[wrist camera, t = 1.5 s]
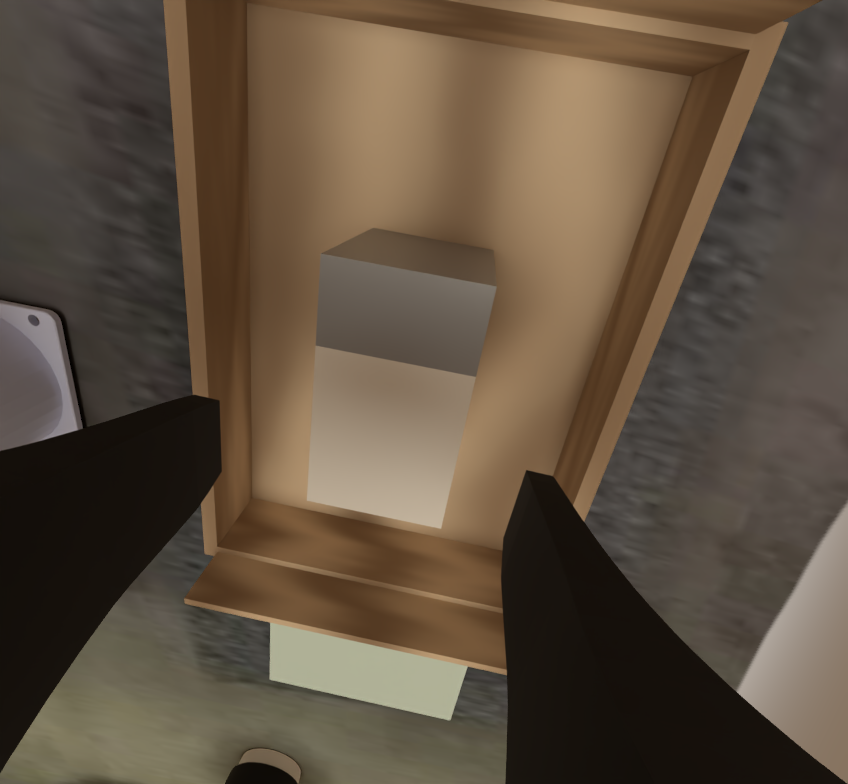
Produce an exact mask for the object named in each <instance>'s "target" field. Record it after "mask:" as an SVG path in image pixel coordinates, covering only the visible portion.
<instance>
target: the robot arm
mask: <svg viewBox="0 0 848 784" xmlns="http://www.w3.org/2000/svg"><path fill="white" fill-rule="evenodd" d="M36 317H37V318H38V320H39V321H38V320H37V318H36ZM221 472H222V458H221V428H220V400H216V399H211V398H207V397H203V396H198V395H191V396H187V397H183V398H179V399H176V400H172V401H169V402H165V403H162V404H159V405H156V406H153V407H150V408H147V409H143V410H140V411H137V412H134V413H131V414H128V415H125V416H122V417H119V418H115V419H112V420H109V421H106V422H103V423H100V424H97V425H93V426H90V427H86V428H83V426H82V421H81V416H80V411H79V406H78V401H77V396H76V391H75V387H74V382H73V377H72V372H71V367H70V362H69V357H68V352H67V347H66V342H65V337H64V332H63V327H62V322H61V320H60V317H59V316H58V315H57V314H56V313H55V312H53V311H51V310H48V309H43V308H38V307H33V306H28V305H23V304H18V303H13V302H8V301H3V300H0V772H1V771H2V769H3V768H4V766H5V764H6V763H7V761H8V759H9V758H10V756H11V755H12V753H13V752H14V750H15V749H16V747H17V745H18V744H19V742H20V741H21V739H22V738H23V736H24V735H25V733H26V732H27V730H28V728H29V727H30V725H31V724H32V722H33V721H34V719H35V718H36V716H37V714H38V713H39V711H40V710H41V708H42V707H43V705H44V704H45V702H46V701H47V699H48V698H49V696H50V695H51V693H52V692H53V690H54V689H55V687H56V686H57V684H58V683H59V682H60V680H61V679H62V677H63V676H64V674H65V673H66V671H67V670H68V668H69V667H70V665H71V664H72V663H73V661H74V660H75V658H76V657H77V655H78V654H79V652H80V651H81V649H82V648H83V647H84V645H85V644H86V643H87V641H88V640H89V638H90V637H91V636H92V634H93V633H94V632H95V630H96V629H97V627H98V626H99V625H100V623H101V622H102V621H103V619H104V618H105V616H106V615H107V614H108V612H109V611H110V610H111V608H112V607H113V605H114V604H115V603H116V602H117V601H118V599H119V598H120V597H121V596H122V594H123V593H124V592H125V591H126V589H127V588H128V587H129V586H130V585H131V584H132V582H133V581H134V580H135V579H136V578H137V577H138V576H139V574H140V573H141V572H142V571H143V570H144V569H145V568H146V567H147V565H148V564H149V563H150V562H151V561H152V560H153V559H154V557H155V556H156V555H157V554H158V553H159V552H160V551H161V550H162V548H163V547H164V546H165V545H166V544H167V543H168V542H169V541H170V539H171V538H172V537H173V536H174V535H175V534H176V533H177V531H178V530H179V529H180V528H181V527H182V526H183V524H184V523H185V522H186V521H187V520H188V519H189V518H190V516H191V515H192V514H193V513H194V512H195V511H196V509H197V508H198V507H199V506H200V504H201V503H202V501H203V500H204V498H205V497H206V495H207V494H208V492H209V491H210V489H211V488H212V486H213V485H214V483H215V482H216V480H217V478H218V477H219V475H220V474H221ZM501 590H502V607H503V622H504V637H505V653H506V668H507V686H508V723H507V760H506V784H847V783H845V782H844V781H843V780H841V779H840V778H839V777H838V776H836V775H835V774H834V773H832V772H831V771H830V770H829V769H827V768H826V767H825V766H823V765H822V764H821V763H819V762H818V761H817V760H816V759H814V758H813V757H812V756H811V755H810V754H808V753H807V752H806V751H805V750H803V749H802V748H801V747H800V746H799V745H797V744H796V743H795V742H794V741H793V740H791V739H790V738H789V737H788V736H787V735H785V734H784V733H783V732H782V731H781V730H779V729H778V728H777V727H776V726H775V725H774V724H772V723H771V722H770V721H769V720H768V719H766V718H765V717H764V716H763V715H762V714H761V713H759V712H758V711H757V710H756V709H755V708H754V707H753V706H752V705H750V704H749V703H748V702H747V701H746V700H745V699H744V698H743V697H741V696H740V695H739V694H738V693H737V692H736V691H735V690H734V689H732V688H731V687H730V686H729V685H728V684H727V683H726V682H725V681H724V680H723V679H722V678H721V677H720V676H719V675H717V674H716V673H715V672H714V671H713V670H712V669H711V668H710V667H709V666H708V665H707V664H706V663H705V662H704V661H703V660H702V659H701V658H700V657H699V656H697V655H696V654H695V653H694V652H693V651H692V650H691V649H690V648H689V647H688V646H687V645H686V644H685V643H684V642H683V641H682V640H681V639H680V638H679V637H678V636H677V635H676V634H675V633H674V631H673V630H672V629H671V628H670V627H669V626H668V625H667V624H666V623H665V622H664V621H663V620H662V618H661V617H660V616H659V615H658V614H657V613H656V612H655V611H654V610H653V609H652V608H651V607H650V606H649V604H648V603H647V602H646V601H645V600H644V599H643V598H642V596H641V595H640V594H639V593H638V592H637V591H636V590H635V588H634V587H633V586H632V585H631V583H630V582H629V581H628V580H627V579H626V577H625V576H624V575H623V574H622V572H621V571H620V570H619V569H618V567H617V566H616V565H615V564H614V562H613V561H612V560H611V558H610V557H609V556H608V554H607V553H606V552H605V551H604V549H603V548H602V547H601V545H600V544H599V542H598V541H597V540H596V538H595V537H594V535H593V534H592V533H591V531H590V530H589V528H588V527H587V526H586V524H585V523H584V521H583V520H582V518H581V517H580V515H579V514H578V512H577V511H576V509H575V508H574V506H573V505H572V503H571V502H570V500H569V499H568V497H567V496H566V494H565V493H564V491H563V490H562V488H561V487H560V485H559V484H558V482H557V481H556V479H555V478H554V477H553V476H551V475H546V474H542V473H537V472H533V471H528V470H526V472H525V475H524V478H523V481H522V484H521V487H520V490H519V493H518V496H517V499H516V502H515V505H514V508H513V511H512V514H511V516H510V519H509V522H508V525H507V528H506V531H505V534H504V537H503V551H502V567H501Z"/></svg>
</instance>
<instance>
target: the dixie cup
mask: <svg viewBox="0 0 848 784" xmlns="http://www.w3.org/2000/svg"><path fill="white" fill-rule="evenodd" d="M300 775H301V770H300V768H299V766H298V764H297V763H296V762H295V761H294V760H292V759H291V758H290V757H288V756H286V755H285V754H282V753H280V752H277V751H274V750H270V749H262V748H258V749H251V750H248V751H247V752H245V753H244V754H243V756H242V758H241V760H240V762H239V764H238V765H237V766H235V767H234V768H233V769H232V771H231V773H230V775H229V777H228V779H227V780H226V782H225V784H299V780H300Z"/></svg>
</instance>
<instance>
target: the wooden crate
mask: <svg viewBox="0 0 848 784" xmlns="http://www.w3.org/2000/svg"><path fill="white" fill-rule="evenodd" d="M163 1H164V14H165V28H166V41H167V55H168V68H169V81H170V95H171V108H172V121H173V135H174V148H175V162H176V175H177V188H178V202H179V215H180V228H181V242H182V255H183V269H184V282H185V295H186V309H187V322H188V336H189V349H190V362H191V376H192V389H193V395H198V396H203V397H207V398H211V399H216V400H220V428H221V458H222V472H221V474H220V475H219V477H218V478H217V480H216V482H215V483H214V485H213V486H212V488H211V489H210V491H209V492H208V494H207V495H206V497H205V498H204V500H203V501H202V503H201V510H202V523H203V536H204V550H205V554H208V555H212V556H214V557H213V559H212V560H211V562H210V563H209V564H208V566H207V567H206V569H205V570H204V571H203V573H202V574H201V576H200V577H199V578H198V580H197V581H196V583H195V584H194V585H193V587H192V588H191V590H190V591H189V593H188V594H187V595H186V597H185V598H184V600H185V604H189V605H194V606H198V607H203V608H207V609H212V610H216V611H221V612H225V613H230V614H234V615H239V616H243V617H248V618H252V619H257V620H261V621H266V622H270V623H275V624H279V625H284V626H288V627H293V628H297V629H302V630H306V631H311V632H315V633H320V634H324V635H329V636H333V637H338V638H342V639H347V640H351V641H356V642H360V643H365V644H369V645H374V646H378V647H383V648H387V649H392V650H396V651H401V652H405V653H410V654H414V655H419V656H423V657H428V658H432V659H437V660H441V661H446V662H450V663H455V664H459V665H464V666H468V667H473V668H477V669H482V670H486V671H491V672H495V673H500V674H504V675H507V668H506V653H505V637H504V622H503V607H502V590H501V567H502V551H503V537H504V534H505V531H506V528H507V525H508V522H509V519H510V516H511V514H512V511H513V508H514V505H515V502H516V499H517V496H518V493H519V490H520V487H521V484H522V481H523V478H524V475H525V472H526V470H528V471H533V472H537V473H542V474H546V475H551V476H553V477H554V478H555V479H556V481H557V482H558V484H559V485H560V487H561V488H562V490H563V491H564V493H565V494H566V496H567V497H568V499H569V500H570V502H571V503H572V505H573V506H574V508H575V509H576V511H577V512H578V514H579V515H580V517H581V518H582V520H583V521H584V520H585V518H586V516H587V513H588V511H589V508H590V506H591V503H592V501H593V499H594V496H595V494H596V491H597V489H598V486H599V484H600V481H601V479H602V477H603V474H604V472H605V469H606V467H607V464H608V462H609V459H610V457H611V455H612V452H613V450H614V447H615V445H616V442H617V440H618V437H619V435H620V433H621V430H622V428H623V425H624V423H625V420H626V418H627V416H628V413H629V411H630V408H631V406H632V403H633V401H634V398H635V396H636V394H637V391H638V389H639V386H640V384H641V381H642V379H643V376H644V374H645V372H646V369H647V367H648V364H649V362H650V359H651V357H652V355H653V352H654V350H655V347H656V345H657V342H658V340H659V337H660V335H661V333H662V330H663V328H664V325H665V323H666V320H667V318H668V315H669V313H670V311H671V308H672V306H673V303H674V301H675V298H676V296H677V293H678V291H679V289H680V286H681V284H682V281H683V279H684V276H685V274H686V272H687V269H688V267H689V264H690V262H691V259H692V257H693V254H694V252H695V250H696V247H697V245H698V242H699V240H700V237H701V235H702V232H703V230H704V228H705V225H706V223H707V220H708V218H709V215H710V213H711V211H712V208H713V206H714V203H715V201H716V198H717V196H718V193H719V191H720V189H721V186H722V184H723V181H724V179H725V176H726V174H727V171H728V169H729V167H730V164H731V162H732V159H733V157H734V154H735V152H736V150H737V147H738V145H739V142H740V140H741V137H742V135H743V132H744V130H745V128H746V125H747V123H748V120H749V118H750V115H751V113H752V110H753V108H754V106H755V103H756V101H757V98H758V96H759V93H760V91H761V88H762V86H763V84H764V81H765V79H766V76H767V74H768V71H769V69H770V67H771V64H772V62H773V59H774V57H775V54H776V52H777V49H778V47H779V45H780V42H781V40H782V37H783V35H784V32H785V30H786V27H787V25H788V22H782V21H783V20H785V19H787V18H789V17H791V16H793V15H795V14H797V13H799V12H801V11H803V10H804V9H806V8H808V7H810V6H812V5H814V4H816V3H818V2H820V1H822V0H163ZM372 228H377V229H382V230H388V231H393V232H399V233H404V234H409V235H415V236H420V237H426V238H431V239H437V240H442V241H447V242H453V243H458V244H464V245H469V246H475V247H480V248H485V249H491V250H494V261H495V272H496V283H497V288H496V292H495V297H494V301H493V305H492V310H491V314H490V318H489V323H488V327H487V331H486V336H485V340H484V344H483V349H482V353H481V357H480V362H479V366H478V370H477V375H476V379H475V383H474V388H473V392H472V397H471V401H470V405H469V410H468V414H467V418H466V423H465V427H464V431H463V436H462V440H461V444H460V449H459V453H458V457H457V462H456V466H455V470H454V475H453V479H452V483H451V488H450V492H449V496H448V501H447V505H446V509H445V514H444V518H443V522H442V527H441V529H440V528H435V527H430V526H425V525H420V524H416V523H411V522H406V521H401V520H397V519H392V518H387V517H382V516H378V515H373V514H368V513H363V512H359V511H354V510H349V509H344V508H340V507H335V506H330V505H325V504H321V503H316V502H311V501H307V488H308V470H309V452H310V435H311V417H312V399H313V381H314V364H315V346H316V328H317V310H318V293H319V275H320V257H321V253H323V252H325V251H327V250H329V249H331V248H333V247H335V246H337V245H339V244H341V243H343V242H345V241H347V240H349V239H351V238H354V237H356V236H358V235H360V234H362V233H364V232H366V231H368V230H370V229H372Z"/></svg>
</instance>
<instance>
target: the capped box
mask: <svg viewBox="0 0 848 784" xmlns="http://www.w3.org/2000/svg"><path fill="white" fill-rule="evenodd" d="M496 288H497V283H496V272H495V261H494V250H491V249H485V248H480V247H475V246H469V245H464V244H458V243H453V242H447V241H442V240H437V239H431V238H426V237H420V236H415V235H409V234H404V233H399V232H393V231H388V230H382V229H377V228H372V229H370V230H368V231H366V232H364V233H362V234H360V235H358V236H356V237H354V238H351V239H349V240H347V241H345V242H343V243H341V244H339V245H337V246H335V247H333V248H331V249H329V250H327V251H325V252H323V253H321V257H320V275H319V293H318V310H317V328H316V346H315V364H314V381H313V399H312V417H311V435H310V452H309V470H308V488H307V501H311V502H316V503H321V504H325V505H330V506H335V507H340V508H344V509H349V510H354V511H359V512H363V513H368V514H373V515H378V516H382V517H387V518H392V519H397V520H401V521H406V522H411V523H416V524H420V525H425V526H430V527H435V528H440V529H441V527H442V522H443V518H444V514H445V509H446V505H447V501H448V496H449V492H450V488H451V483H452V479H453V475H454V470H455V466H456V462H457V457H458V453H459V449H460V444H461V440H462V436H463V431H464V427H465V423H466V418H467V414H468V410H469V405H470V401H471V397H472V392H473V388H474V383H475V379H476V375H477V370H478V366H479V362H480V357H481V353H482V349H483V344H484V340H485V336H486V331H487V327H488V323H489V318H490V314H491V310H492V305H493V301H494V297H495V292H496Z"/></svg>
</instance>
